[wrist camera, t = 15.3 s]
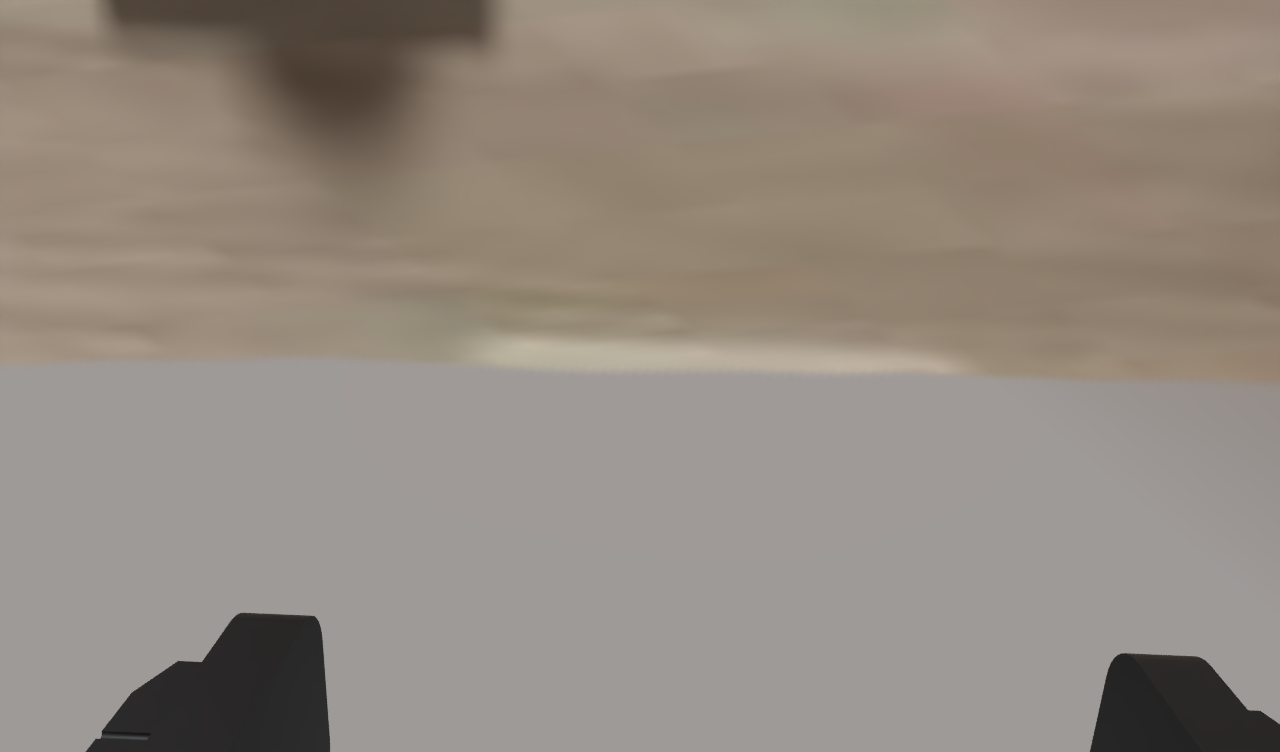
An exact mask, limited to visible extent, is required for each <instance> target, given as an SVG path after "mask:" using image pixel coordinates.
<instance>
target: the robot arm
mask: <svg viewBox="0 0 1280 752" xmlns="http://www.w3.org/2000/svg"><path fill="white" fill-rule="evenodd" d="M327 709H328V708H327V696H326V681H325V668H324V655H323V641H322V632H321V627H320V624H319V621H318V620H317V618H316V617H315V616H303V615H302V616H301V615H280V614H255V613H240V614H238V615H236V616H235V617H234V618H233V619H232V620H231V622H230V623H229V625H228V626H227V627H226V629H225V630H224V632H223V633H222V635H221V636H220V638H219V639H218V640H217V642H216V643H215V644H214V646H213V647H212V649H211V650H210V652H209V653H208V654H207V656H206V657H205V658H204V660H203V661H202V662H185V661H178V662H176V663H175V664H173V665H172V666H170V667H169V668H168V669H166V670H165V671H163V672H162V673H160V674H159V675H157V676H156V677H154V678H153V679H151V680H150V681H148V682H147V683H145V684H144V685H142V686H141V687H139V688H138V689H137V690H135V691H134V692H132V693H131V694H130V696H129V697H128V698H127V700H126V701H125V702H124V704H123V705H122V706H121V707H120V709H119V710H118V711H117V712H116V714H115V715H114V716H113V718H112V719H111V720H110V721H109V723H108V724H107V725H106V727H105V728H104V729H103V730H102V736H101V739H95V741H94V742H93V743H92V745H91V746H90V747H89V748H88V750H87V751H86V752H330V736H329V722H328V710H327ZM1090 752H1280V724H1278V723H1277V722H1276V721H1274V720H1272V719H1271V718H1270V717H1268V716H1267V715H1265V714H1264V713H1263V712H1261V711H1249V710H1247V709H1246V707H1245V706H1244V705H1243V704H1242V703H1241V702H1240V700H1239V699H1238V698H1237V697H1236V695H1235V694H1234V693H1233V692H1232V691H1231V689H1230V688H1229V687H1228V686H1227V685H1226V684H1225V682H1224V681H1223V680H1222V679H1221V678H1220V677H1219V675H1218V674H1217V673H1216V672H1215V670H1214V669H1213V668H1212V667H1211V666H1210V665H1209V664H1208V663H1207V662H1206V661H1205V660H1203V659H1202V658H1199V657H1194V656H1172V655H1149V654H1127V653H1125V654H1120V655H1117V656H1116V657H1115V658H1114V659H1113V661H1112V662H1111V664H1110V667H1109V669H1108V673H1107V676H1106V681H1105V686H1104V690H1103V695H1102V700H1101V704H1100V708H1099V713H1098V718H1097V722H1096V727H1095V731H1094V736H1093V740H1092V745H1091V750H1090Z"/></svg>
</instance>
